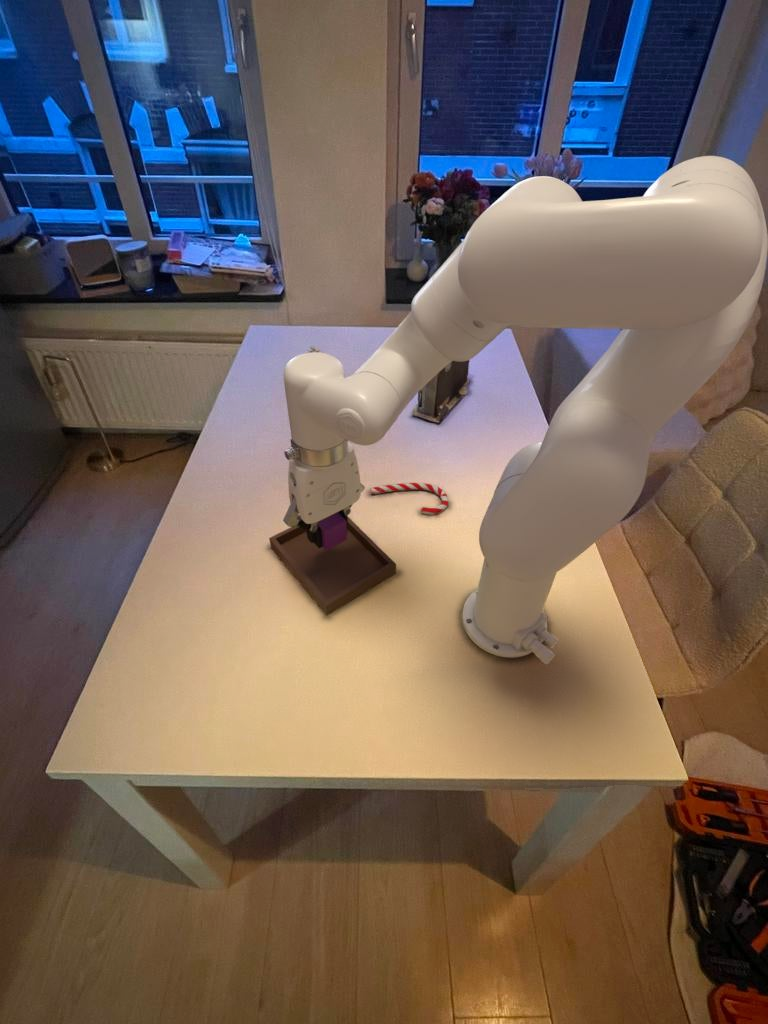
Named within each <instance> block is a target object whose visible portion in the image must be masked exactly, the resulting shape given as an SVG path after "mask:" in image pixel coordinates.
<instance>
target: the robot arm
mask: <svg viewBox="0 0 768 1024" xmlns="http://www.w3.org/2000/svg"><path fill="white" fill-rule="evenodd" d="M766 222H767V221H766V216H765V212H764V209H763V205H762V201H761V199H760V195H759V192H758V190H757V188H756V185H755V183H754V181H753V179H752V178H751V176H750V175H749V173H748V172H747V170H745V169H744V168H743V167H742V166H741V165H739V164H738V163H736V162H735V161H733V160H731V159H729V158H726V157H723V156H718V155H703V156H697V157H694V158H690V159H687V160H684V161H682V162H680V163H678V164H676V165H674V166H673V167H671V168H669V169H668V170H667V171H666V172H664V173H662V174H661V175H660V176H659V177H658V178H657V179H655V181H654V182H653V183H652V184H651V185H650V186H649V187H648V188H647V190H646V191H645V192H644V194H643V195H642V196H633V197H625V198H613V199H612V198H611V199H604V200H603V199H601V200H585V201H583V200H582V198H581V197H580V195H579V194H578V192H577V191H576V190H575V189H574V188H573V187H572V186H571V185H570V184H568V183H567V182H565V181H563V180H561V179H559V178H557V177H553V176H547V175H542V176H541V175H540V176H539V175H538V176H533V177H532V176H531V177H529V178H526V179H524V180H522V181H519V182H517V183H516V184H514V185H513V186H511V187H509V189H508V190H506V191H505V192H504V193H503V194H502V195H501V196H500V197H498V198H497V200H495V201H494V202H493V203H492V204H491V205H490V206H489V207H488V208H486V209H485V210H484V211H483V212H482V213H481V214H480V215H479V216H478V217H477V218H476V219H475V220H474V222H473V224H472V225H471V227H470V228H469V230H468V231H467V232H466V235H465V236H464V239H463V241H461V242H460V244H459V245H458V246H457V247H456V248H455V250H454V251H453V252H452V253H451V254H450V255H449V256H448V257H447V259H446V260H445V261H444V262H443V263H442V264H441V266H440V267H439V268H437V270H436V271H435V272H434V273H433V275H432V276H431V277H430V278H429V279H428V281H426V283H424V284H423V286H422V287H421V288H420V289H419V291H417V293H415V295H414V297H413V298H412V301H411V304H410V309H411V310H410V311H409V313H408V314H407V316H405V318H403V320H402V321H401V322H400V324H399V325H398V326H397V327H396V328H395V329H394V331H392V332H391V334H390V335H389V336H388V337H387V339H385V341H384V342H383V343H382V344H381V345H380V346H379V347H378V348H377V349H376V350H375V352H373V353H372V354H371V356H370V357H368V358H367V360H365V361H364V363H362V364H361V366H359V367H358V369H356V370H355V372H354V373H353V374H352V375H349V376H346V373H345V367H344V366H343V364H342V362H341V361H340V360H339V359H338V358H336V357H335V356H333V355H331V354H328V353H325V352H321V351H319V352H311V353H308V352H305V353H301V354H298V355H296V356H294V357H293V358H291V359H290V360H288V362H287V363H286V364H285V367H284V369H283V384H284V385H283V386H284V391H285V399H286V406H287V408H286V409H287V416H288V422H289V423H288V424H289V429H290V437H291V438H290V447H288V449H286V450H284V451H283V453H284V457H285V458H286V460H287V461H288V463H289V464H288V474H287V478H288V479H287V480H288V481H287V484H288V497H289V506H288V509H287V511H286V513H285V515H284V518H283V523H284V524H285V525H286V526H287V527H288V528H290V527H297V526H299V527H300V528H304V529H306V532H307V538H308V540H309V541H310V542H311V543H314V544H315V545H316V546H317V547H318V548H321V547H322V546H323V545H322V534H321V530H320V528H319V527H318V522H319V521H320V520H322V519H324V518H326V517H328V516H330V515H332V514H334V513H336V512H338V513H339V514H340V515H341V516H342V517H343V518H344V519H345V520H346V529H347V525H348V517H349V515H350V514H351V512H352V509H351V508H352V507H353V505H354V504H356V503H357V502H358V501H359V500H360V498H361V494H362V493H363V492H364V490H365V488H366V486H365V485H364V484H362V482H361V475H360V468H359V463H358V459H357V455H356V452H355V448H354V446H353V445H352V444H351V443H353V444H354V445H359V446H371V445H375V444H376V443H379V441H381V440H382V439H383V438H384V437H385V436H386V434H387V433H388V431H390V429H391V428H392V427H393V425H394V424H395V422H396V421H397V420H398V418H399V416H400V415H401V414H402V412H404V410H405V409H406V408H407V406H408V405H410V402H411V401H412V400H413V399H414V398H415V396H416V395H418V392H419V391H420V390H421V389H422V388H423V387H424V386H425V385H426V384H427V383H428V382H429V381H430V380H431V379H432V378H433V377H434V376H436V375H437V374H438V373H439V372H440V371H441V370H442V369H443V368H444V367H445V366H447V365H448V364H449V363H450V362H452V361H458V362H463V361H468V360H469V361H470V360H472V359H473V358H474V357H475V358H476V356H477V355H478V354H479V353H481V352H482V351H483V350H484V349H485V348H486V347H487V346H488V345H489V344H491V342H493V341H494V340H495V339H496V338H497V337H498V336H499V335H500V334H502V332H504V331H505V330H506V329H507V328H508V327H509V326H515V327H522V328H523V327H525V328H526V327H527V328H541V329H573V330H574V329H581V330H582V329H583V330H586V329H587V330H620V332H619V333H618V334H617V335H616V337H615V339H614V340H613V342H612V343H611V344H610V345H609V347H608V348H607V350H606V351H605V352H604V353H603V354H602V355H601V357H600V358H599V359H598V361H596V363H595V364H594V365H593V366H592V368H591V369H590V370H589V371H588V372H587V374H586V375H585V376H584V377H583V378H582V380H581V381H580V382H579V383H578V384H577V385H576V387H575V388H574V389H573V390H571V392H570V393H569V394H568V395H567V397H565V398H564V400H563V401H562V402H561V403H560V405H558V406H557V409H556V410H555V412H554V414H553V416H552V418H551V420H550V423H549V425H548V427H547V430H546V431H545V435H544V437H543V440H542V441H538V442H534V443H530V444H528V445H526V446H524V447H523V448H521V449H520V450H518V451H517V452H516V453H515V454H514V455H513V456H512V457H511V458H510V460H509V461H508V462H507V464H506V466H505V467H504V470H503V471H502V474H501V476H500V478H499V480H498V482H497V485H496V487H495V489H494V492H493V495H492V497H491V500H490V502H489V503H488V507H487V509H486V511H485V513H484V515H483V518H482V520H481V523H480V527H479V531H478V543H479V548H480V551H481V553H482V556H483V562H482V568H481V572H480V575H479V576H480V577H479V581H478V586H477V589H476V590H474V591H473V592H472V593H471V594H469V596H468V597H467V598H466V600H465V601H464V605H463V608H462V614H461V620H462V625H463V628H464V631H465V632H466V634H467V636H468V637H469V638H470V640H471V641H472V642H473V643H474V644H475V645H476V646H478V648H480V649H482V650H483V651H485V652H486V653H489V654H491V655H494V656H497V657H502V658H511V659H513V658H520V657H524V656H528V655H530V654H531V653H533V654H534V655H535V656H536V658H538V659H539V660H540V661H541V662H542V663H543V664H545V665H548V664H550V663H551V661H552V660H553V659H554V658H555V656H556V653H554V652H553V651H552V650H551V649H550V648H548V647H547V646H546V645H544V644H543V642H545V643H546V644H547V645H548V646H550V647H551V648H554V647H555V646H556V645H557V644H558V642H559V639H558V638H556V636H554V635H553V634H552V633H550V632H549V631H548V616H547V615H546V613H545V610H544V608H545V605H546V603H547V600H548V597H549V595H550V592H551V590H552V587H553V583H554V581H555V578H556V575H557V573H559V571H561V570H563V569H564V568H565V567H567V566H568V565H569V564H571V563H572V562H573V561H574V560H576V559H577V558H578V557H579V556H580V555H582V554H583V553H585V552H586V551H587V550H588V549H589V548H591V547H592V546H593V545H594V544H595V543H596V542H597V541H599V540H600V539H601V538H603V537H604V536H605V535H606V534H607V533H608V532H609V531H611V530H613V528H614V527H615V526H617V525H618V524H619V523H620V522H621V521H622V520H623V519H624V518H626V516H627V515H628V514H629V513H630V511H631V510H632V508H634V506H635V505H636V503H637V501H638V500H639V498H640V496H641V494H642V491H643V489H644V487H645V483H646V479H647V475H648V468H649V462H650V461H649V460H650V455H651V451H652V448H653V444H654V441H655V439H656V436H658V434H659V433H660V431H661V430H662V429H663V428H664V427H665V426H666V425H667V424H668V423H669V421H670V420H671V419H672V418H673V417H674V416H676V414H677V413H678V412H679V411H680V410H681V409H682V408H683V407H684V406H685V405H686V404H687V403H688V402H689V401H690V400H691V399H692V397H694V395H695V394H696V393H697V392H698V391H700V389H702V387H703V386H705V384H706V383H707V382H708V381H709V380H710V379H711V378H712V377H713V376H714V374H715V373H716V372H717V371H718V370H719V369H720V368H721V366H722V365H723V364H724V363H725V361H726V360H727V359H728V357H729V356H730V355H731V353H732V352H733V350H734V349H735V348H736V346H737V345H738V343H739V341H741V338H742V336H743V334H745V332H746V329H747V327H748V325H749V324H750V322H751V319H752V317H753V314H754V312H755V310H756V307H757V304H758V301H759V298H760V295H761V291H762V288H763V284H764V279H765V274H766V268H767V261H768V229H767V223H766Z"/></svg>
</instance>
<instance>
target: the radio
mask: <svg viewBox="0 0 768 1024" xmlns="http://www.w3.org/2000/svg"><path fill="white" fill-rule="evenodd" d="M469 367H470V360H468V361H463V362H458V361H452V362H450V363H449V364H448V365H447V366H445V367H444V368H443V369H442V370H441V371H440V372H439V373H438V374H437V375H436V376H434V377H433V378H432V379H431V380H430V381H429V382H428V383H427V384H426V385H425V386H424V387H423V388H422V389H421V390H420V391H419V392H418V393H417V404H416V405H415V406H414V407H413V409H412V411H411V413H412V414H411V415H412V416H415V417H419V418H422V419H425V420H428V421H430V422H434V423H440V422H441V421H442V420H443V419H444V418H445V417H446V416H447V415H448V414H449V413H450V412H451V411H452V410H453V409H454V408H455V406H456V405H457V404H458V403H459V402H460V401H461V400H462V399H463V398H464V397H465V396H466V395H467V394H468V389H467V385H468V384H469V382H470V380H469V379H468V376H469Z"/></svg>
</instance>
